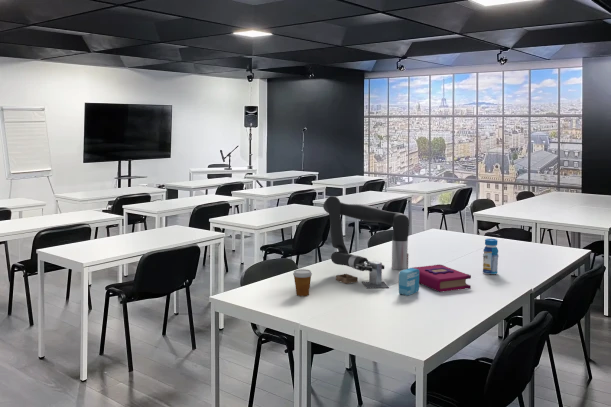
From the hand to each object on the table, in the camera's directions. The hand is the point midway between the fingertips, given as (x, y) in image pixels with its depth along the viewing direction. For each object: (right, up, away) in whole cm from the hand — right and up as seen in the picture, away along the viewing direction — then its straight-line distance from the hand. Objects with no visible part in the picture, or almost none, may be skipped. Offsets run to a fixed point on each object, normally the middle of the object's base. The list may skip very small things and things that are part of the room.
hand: (377, 268), depth 295 cm
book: (+34, -9, +6) cm, 36 cm away
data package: (+14, -11, -12) cm, 22 cm away
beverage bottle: (+68, -6, +27) cm, 74 cm away
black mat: (-1, -9, +3) cm, 10 cm away
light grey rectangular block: (-1, -9, +3) cm, 9 cm away
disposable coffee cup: (-40, -12, -14) cm, 44 cm away
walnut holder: (-16, -8, +12) cm, 21 cm away
